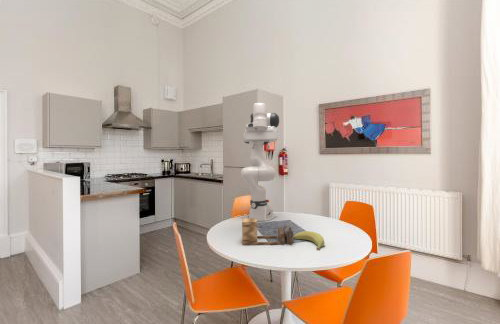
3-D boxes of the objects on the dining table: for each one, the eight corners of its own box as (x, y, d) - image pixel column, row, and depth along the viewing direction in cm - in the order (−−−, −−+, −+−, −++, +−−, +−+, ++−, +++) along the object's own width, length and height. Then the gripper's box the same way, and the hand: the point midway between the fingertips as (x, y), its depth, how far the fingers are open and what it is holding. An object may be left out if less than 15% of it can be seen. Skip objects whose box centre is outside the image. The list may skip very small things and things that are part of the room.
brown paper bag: (242, 244, 143) (241, 222, 142) (242, 239, 151) (242, 218, 150) (257, 243, 143) (257, 222, 142) (256, 238, 151) (256, 218, 150)
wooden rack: (242, 245, 140) (242, 228, 140) (242, 238, 152) (242, 221, 152) (294, 245, 140) (294, 227, 140) (290, 237, 153) (290, 221, 152)
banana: (313, 225, 152) (328, 241, 133) (315, 233, 153) (330, 250, 134) (291, 232, 151) (302, 249, 132) (293, 240, 152) (304, 258, 133)
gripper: (276, 128, 163) (277, 149, 159) (243, 129, 163) (243, 150, 159) (277, 124, 157) (278, 146, 153) (243, 124, 157) (243, 146, 153)
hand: (260, 148), depth 156 cm, fingers open, 8 cm apart
